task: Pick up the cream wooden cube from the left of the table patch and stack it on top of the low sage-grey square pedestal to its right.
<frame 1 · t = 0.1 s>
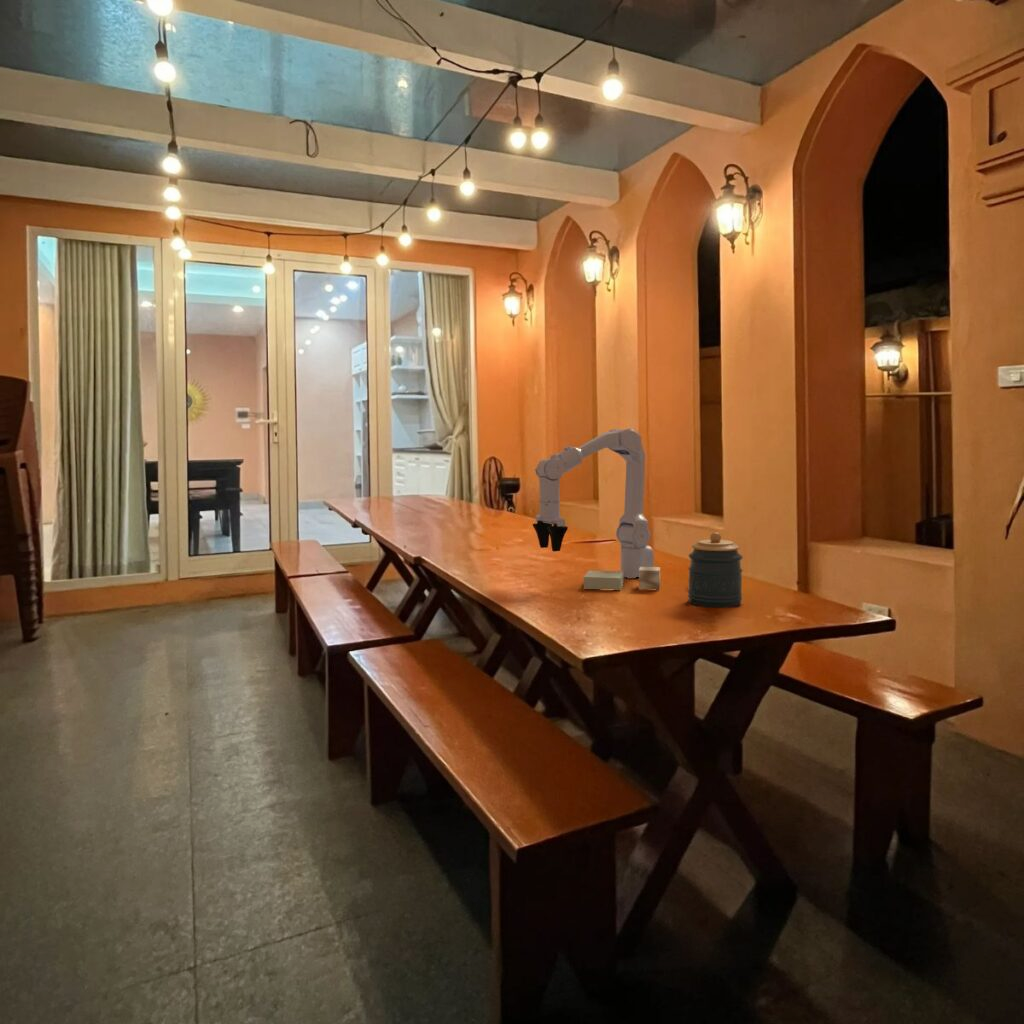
hand: (550, 549, 207), 10 cm above the table, tool pointing down, fingers open, 7 cm apart
canister: (714, 603, 182), on the table
cream cube: (649, 588, 201), on the table
sage pedestal: (604, 586, 204), on the table
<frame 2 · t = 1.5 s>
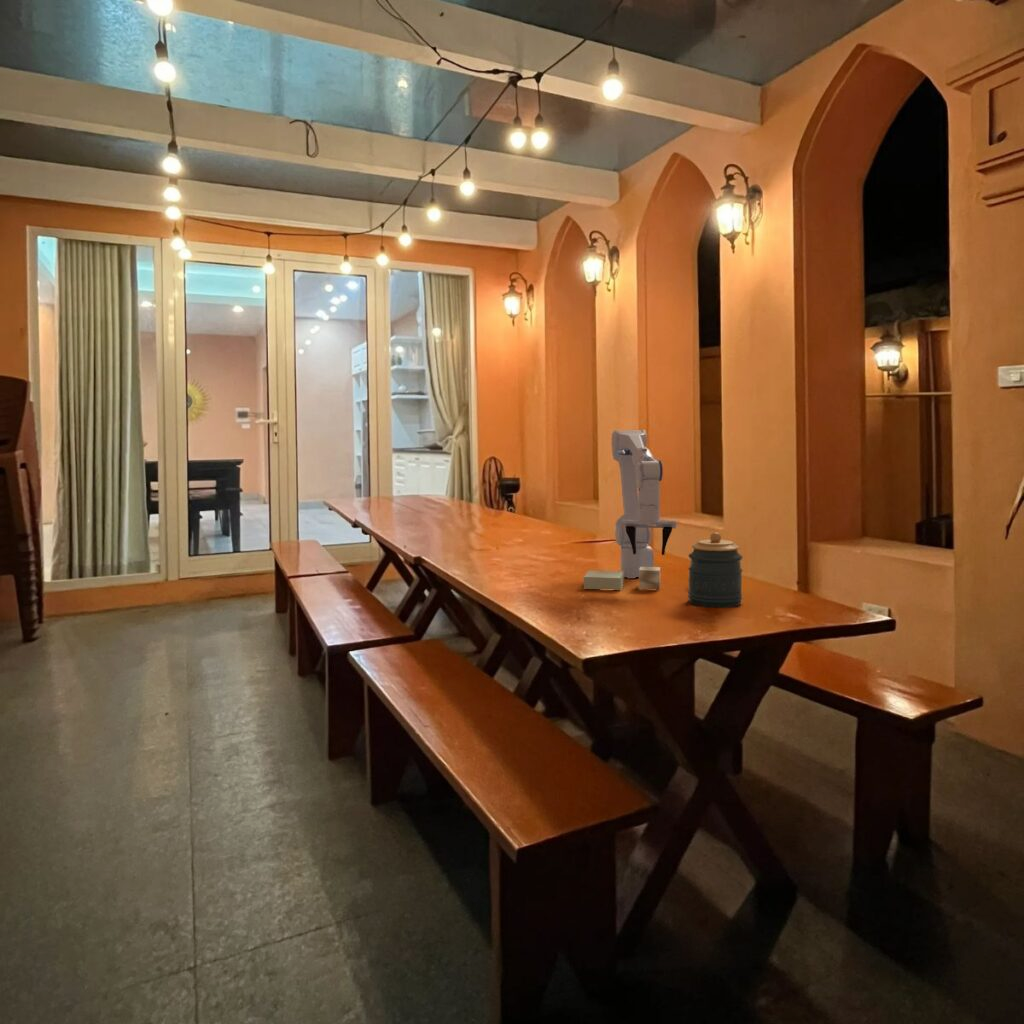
hand: (648, 554, 200), 9 cm above the table, tool pointing down, fingers open, 7 cm apart
nothing on the table moved.
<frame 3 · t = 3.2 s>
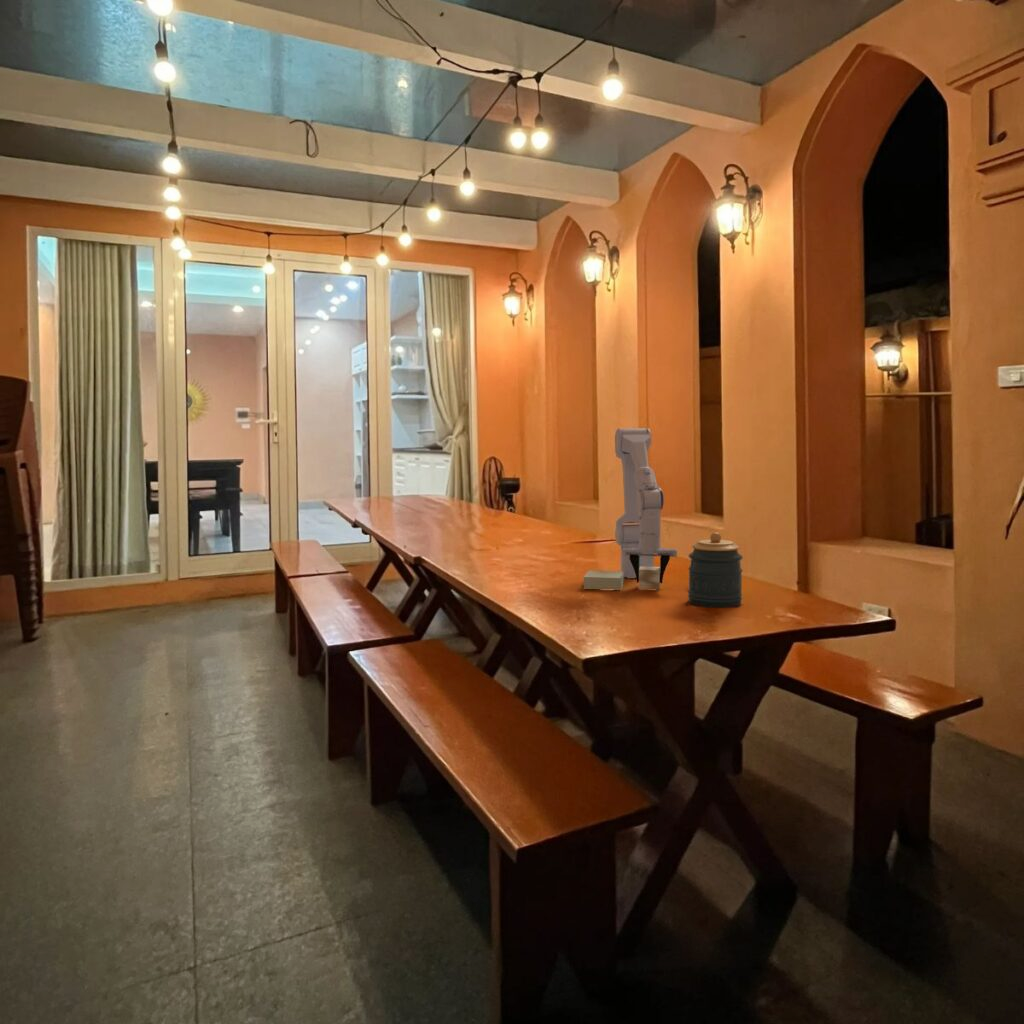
hand: (649, 582, 201), 2 cm above the table, tool pointing down, fingers closed on cream cube, 5 cm apart
cream cube: (649, 588, 201), on the table, touching gripper
everything else where it was.
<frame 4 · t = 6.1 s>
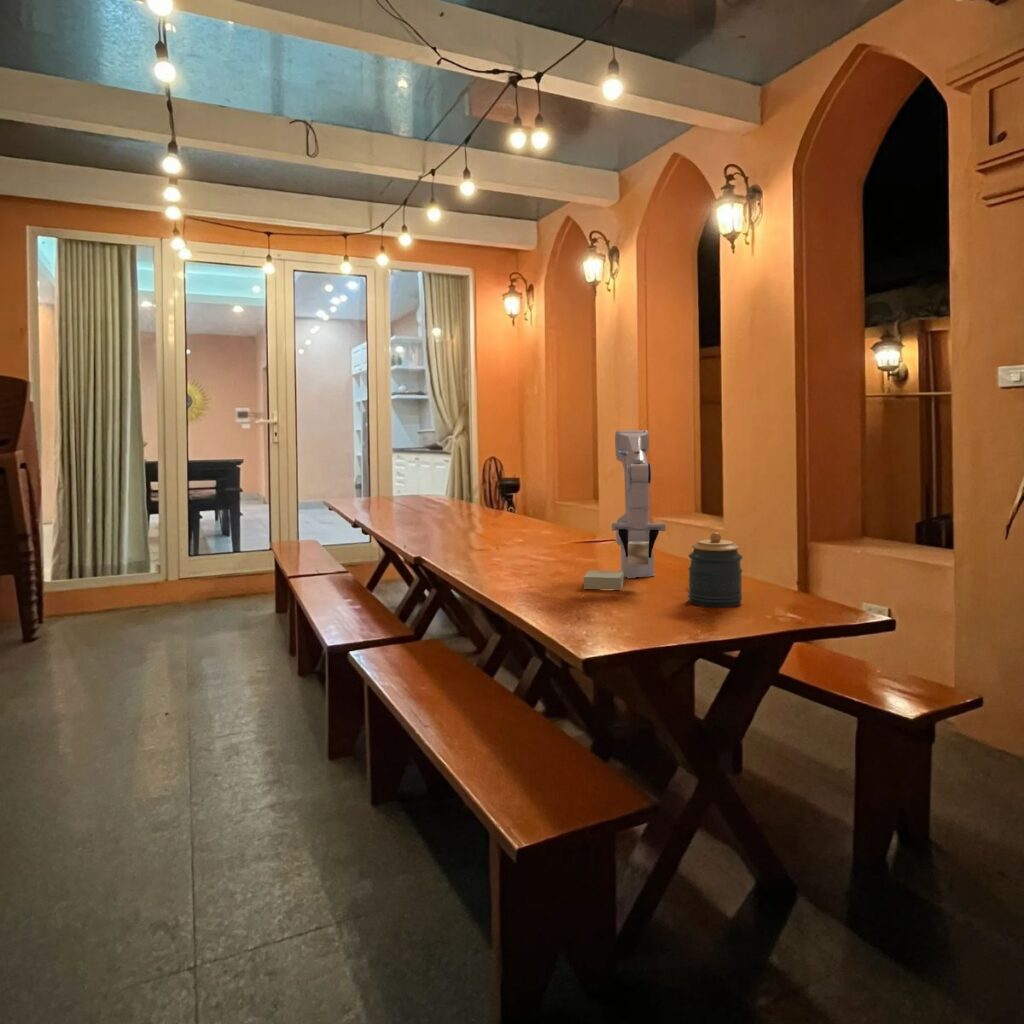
hand: (638, 556, 201), 9 cm above the table, tool pointing down, fingers closed on cream cube, 5 cm apart
cream cube: (638, 562, 201), point 7 cm above the table, touching gripper
everything else where it was.
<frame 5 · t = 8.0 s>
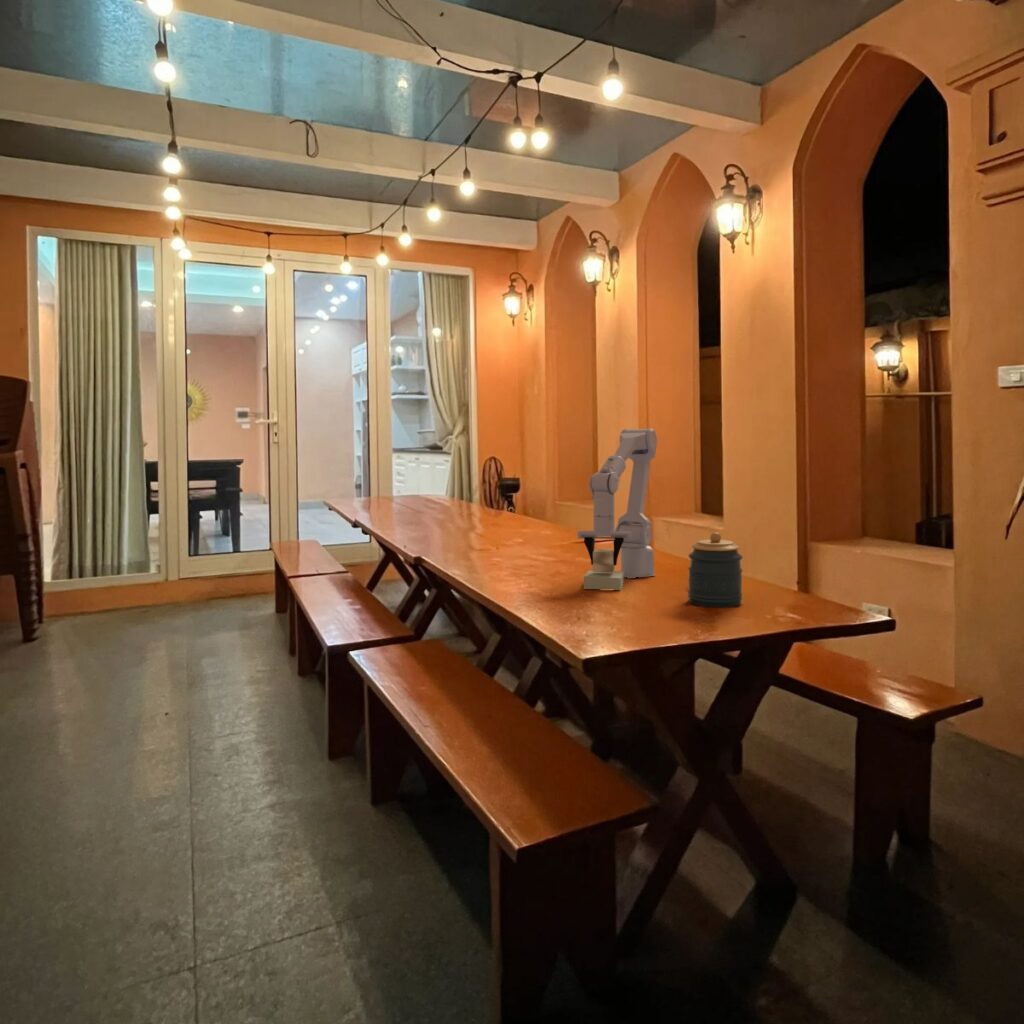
hand: (604, 564, 203), 6 cm above the table, tool pointing down, fingers closed on cream cube, 5 cm apart
cream cube: (604, 570, 203), point 5 cm above the table, touching gripper
everything else where it was.
when the fingers open (6 cm above the table, at t = 9.3 s): cream cube stays where it is, resting on sage pedestal.
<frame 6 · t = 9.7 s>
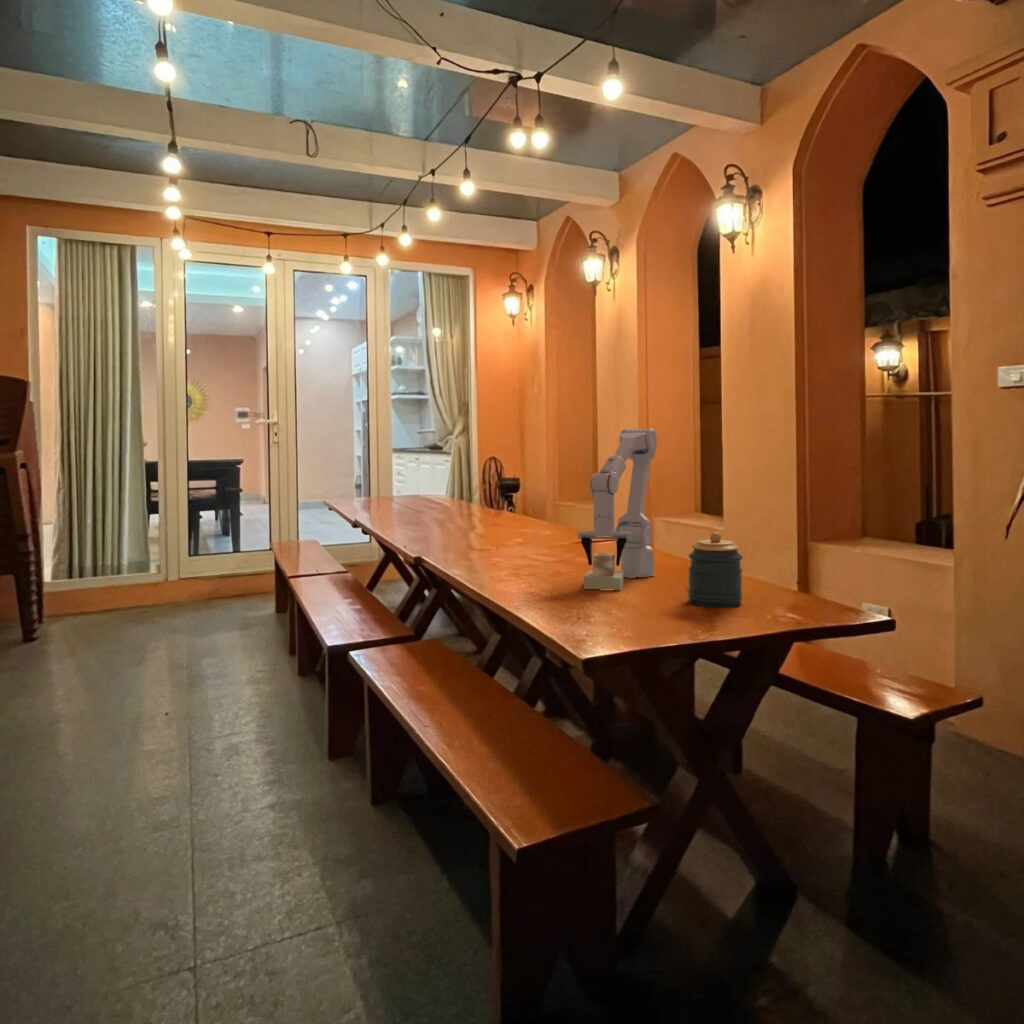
hand: (604, 564, 203), 6 cm above the table, tool pointing down, fingers open, 7 cm apart
cream cube: (604, 574, 203), point 3 cm above the table, touching sage pedestal
everything else where it was.
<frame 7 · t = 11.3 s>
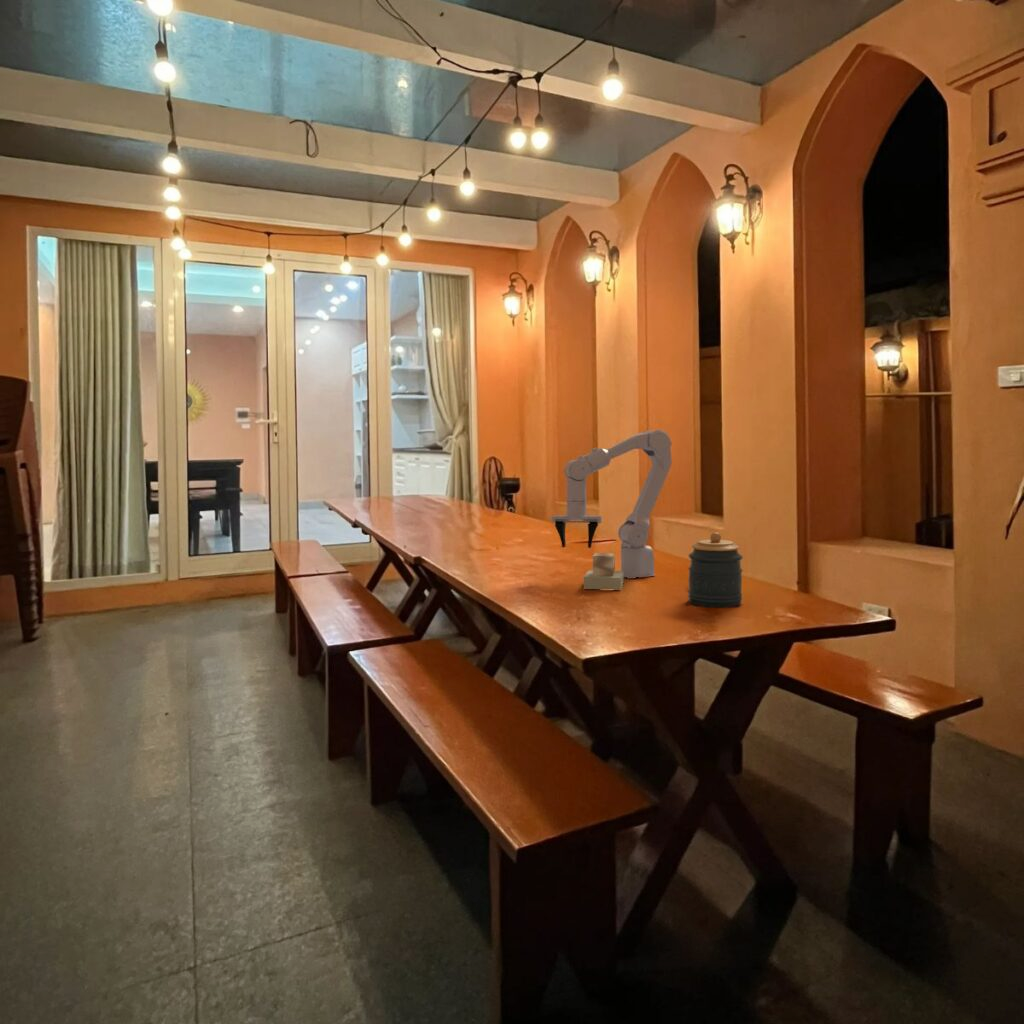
hand: (576, 547, 215), 9 cm above the table, tool pointing down, fingers open, 7 cm apart
nothing on the table moved.
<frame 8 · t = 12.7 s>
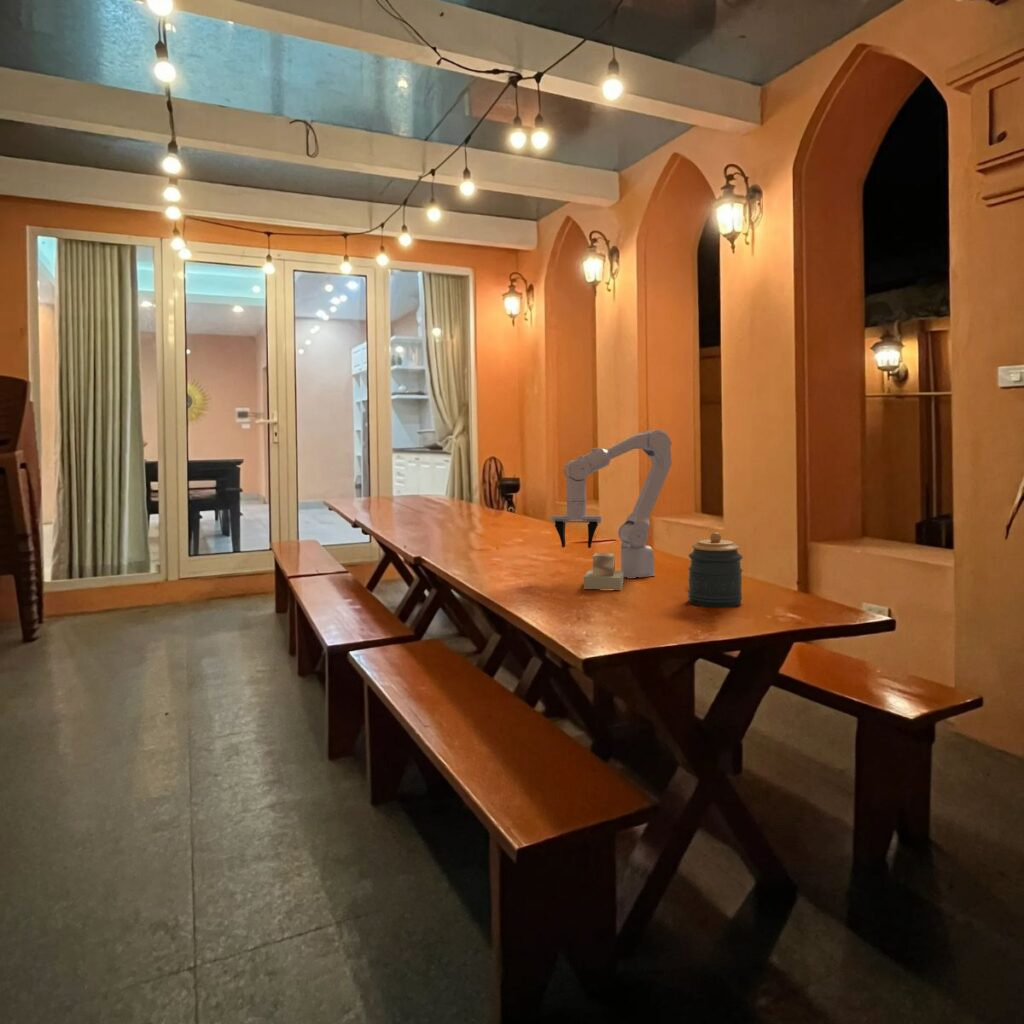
hand: (576, 547, 215), 9 cm above the table, tool pointing down, fingers open, 7 cm apart
nothing on the table moved.
at the end: cream cube 0.0 cm off-centre on the sage pedestal, point 3.5 cm above the sage pedestal's base; cream cube tilted 0°; the gripper is holding nothing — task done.
